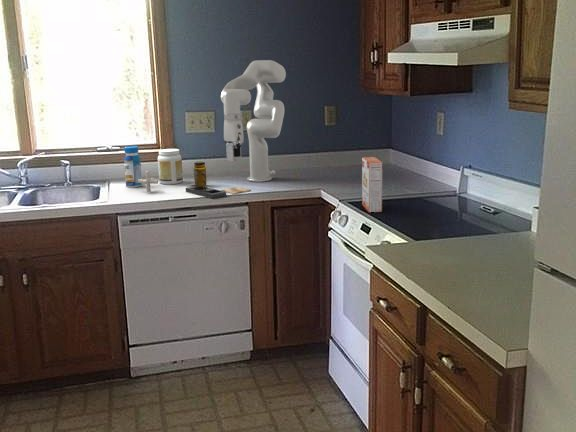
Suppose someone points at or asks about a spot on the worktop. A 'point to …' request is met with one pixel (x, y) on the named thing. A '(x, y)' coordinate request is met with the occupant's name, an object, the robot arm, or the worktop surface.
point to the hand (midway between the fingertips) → (233, 155)
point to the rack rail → (206, 192)
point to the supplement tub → (170, 166)
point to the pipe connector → (148, 181)
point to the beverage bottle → (132, 166)
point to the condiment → (199, 174)
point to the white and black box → (231, 152)
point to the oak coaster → (236, 190)
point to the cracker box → (372, 184)
